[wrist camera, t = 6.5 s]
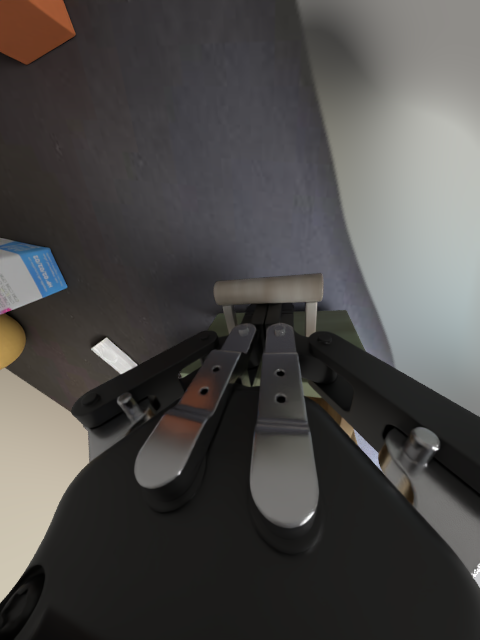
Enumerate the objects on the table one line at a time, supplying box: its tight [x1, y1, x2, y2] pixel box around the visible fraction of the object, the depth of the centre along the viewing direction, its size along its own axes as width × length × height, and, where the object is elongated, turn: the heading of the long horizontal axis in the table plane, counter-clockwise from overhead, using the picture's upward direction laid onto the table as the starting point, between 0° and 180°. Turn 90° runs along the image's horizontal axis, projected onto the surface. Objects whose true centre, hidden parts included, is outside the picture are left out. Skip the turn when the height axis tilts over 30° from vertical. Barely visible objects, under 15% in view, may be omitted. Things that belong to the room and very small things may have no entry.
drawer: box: [180, 273, 365, 438], centre depth 16 cm, size 20×11×8 cm, turn 9°
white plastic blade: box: [91, 337, 138, 374], centre depth 29 cm, size 5×15×1 cm, turn 35°
